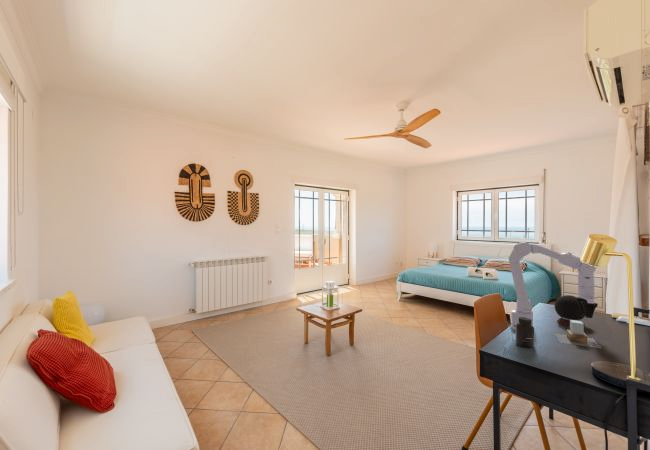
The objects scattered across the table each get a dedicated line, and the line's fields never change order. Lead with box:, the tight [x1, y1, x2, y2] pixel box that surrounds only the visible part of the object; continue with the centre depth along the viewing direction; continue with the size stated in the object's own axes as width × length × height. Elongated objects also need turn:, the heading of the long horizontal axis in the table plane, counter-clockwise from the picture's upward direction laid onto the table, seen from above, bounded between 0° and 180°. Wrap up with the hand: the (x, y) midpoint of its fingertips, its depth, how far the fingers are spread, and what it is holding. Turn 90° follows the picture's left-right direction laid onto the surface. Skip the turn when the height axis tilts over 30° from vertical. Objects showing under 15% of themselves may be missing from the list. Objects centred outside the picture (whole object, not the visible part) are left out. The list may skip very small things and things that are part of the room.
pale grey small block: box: [569, 320, 585, 335], centre depth 134 cm, size 4×4×5 cm
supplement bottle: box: [515, 317, 535, 349], centre depth 130 cm, size 7×7×12 cm
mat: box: [555, 333, 602, 349], centre depth 134 cm, size 14×12×1 cm
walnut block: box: [566, 329, 588, 344], centre depth 134 cm, size 6×6×4 cm
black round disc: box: [554, 294, 586, 328], centre depth 156 cm, size 13×13×15 cm
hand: (586, 315), depth 138 cm, fingers open, 7 cm apart
